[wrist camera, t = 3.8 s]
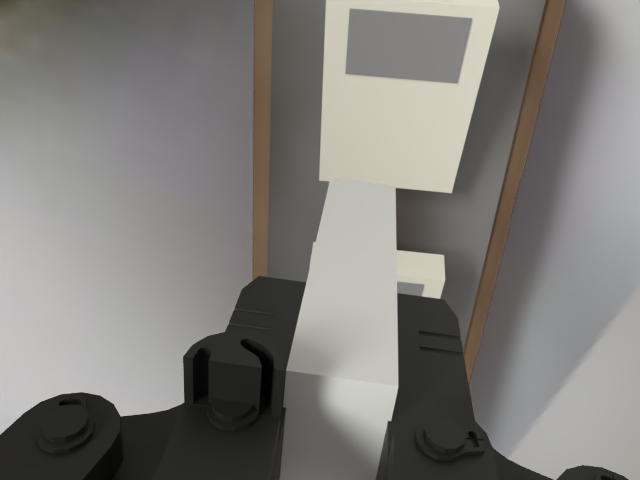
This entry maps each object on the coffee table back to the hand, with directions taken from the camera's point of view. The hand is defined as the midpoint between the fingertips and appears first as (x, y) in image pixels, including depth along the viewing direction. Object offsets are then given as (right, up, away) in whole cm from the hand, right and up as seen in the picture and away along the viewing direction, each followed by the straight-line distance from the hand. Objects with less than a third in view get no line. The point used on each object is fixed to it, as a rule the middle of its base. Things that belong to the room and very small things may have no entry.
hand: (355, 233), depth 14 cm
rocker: (+2, +5, +8) cm, 10 cm away
